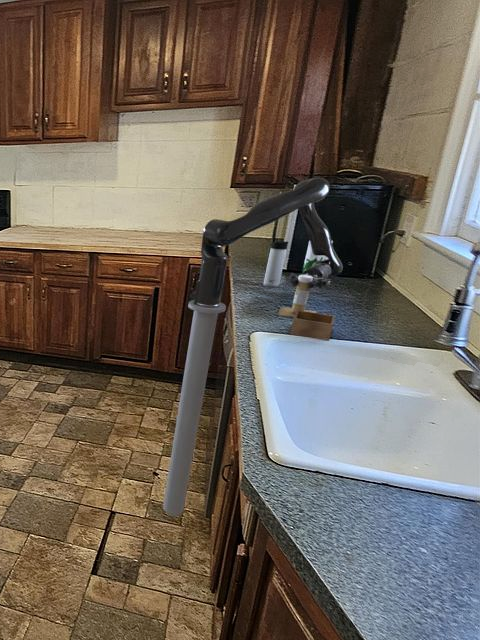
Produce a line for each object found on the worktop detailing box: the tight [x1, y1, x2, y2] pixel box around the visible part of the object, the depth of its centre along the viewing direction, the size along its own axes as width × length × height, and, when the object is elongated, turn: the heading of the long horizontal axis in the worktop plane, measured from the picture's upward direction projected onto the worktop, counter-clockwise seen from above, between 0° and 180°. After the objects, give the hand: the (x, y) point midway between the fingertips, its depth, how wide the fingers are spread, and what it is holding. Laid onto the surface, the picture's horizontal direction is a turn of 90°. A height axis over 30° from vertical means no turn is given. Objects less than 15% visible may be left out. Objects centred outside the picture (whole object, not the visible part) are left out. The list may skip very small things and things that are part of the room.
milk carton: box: [301, 240, 334, 274], centre depth 242 cm, size 9×9×20 cm
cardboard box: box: [289, 310, 336, 342], centre depth 175 cm, size 11×11×6 cm
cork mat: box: [276, 306, 318, 319], centre depth 195 cm, size 12×12×1 cm
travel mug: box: [262, 241, 289, 289], centre depth 230 cm, size 6×7×20 cm
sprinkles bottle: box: [291, 274, 313, 312], centre depth 193 cm, size 5×5×13 cm
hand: (302, 284), depth 189 cm, fingers closed on sprinkles bottle, 4 cm apart
